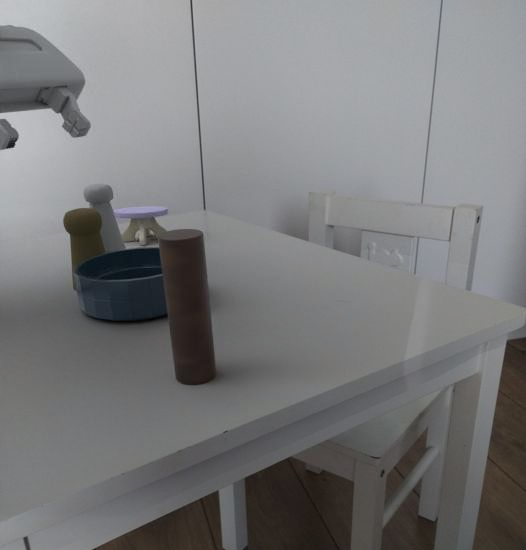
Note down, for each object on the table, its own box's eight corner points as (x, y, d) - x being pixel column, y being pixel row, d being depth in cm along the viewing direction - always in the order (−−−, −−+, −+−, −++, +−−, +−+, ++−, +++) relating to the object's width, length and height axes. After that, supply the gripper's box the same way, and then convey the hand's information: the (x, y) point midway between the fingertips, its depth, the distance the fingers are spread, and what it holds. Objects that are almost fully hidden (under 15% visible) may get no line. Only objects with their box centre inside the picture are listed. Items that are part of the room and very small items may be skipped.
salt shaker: (84, 273, 89) (68, 188, 84) (104, 262, 94) (90, 181, 89) (117, 274, 88) (103, 188, 82) (135, 264, 93) (123, 181, 87)
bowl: (63, 325, 69) (54, 282, 67) (102, 285, 83) (96, 248, 81) (186, 323, 68) (181, 279, 66) (205, 282, 82) (202, 245, 80)
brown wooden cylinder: (171, 385, 54) (152, 240, 48) (179, 366, 58) (163, 229, 52) (213, 384, 54) (199, 239, 48) (218, 365, 58) (206, 227, 52)
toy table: (111, 246, 104) (106, 214, 101) (128, 234, 112) (123, 204, 109) (163, 245, 102) (159, 213, 100) (176, 233, 110) (173, 203, 108)
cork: (66, 285, 84) (51, 210, 79) (104, 275, 88) (91, 203, 83) (83, 294, 80) (68, 215, 75) (122, 284, 83) (110, 208, 79)
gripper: (12, 54, 61) (104, 149, 61) (-186, 51, 44) (-56, 182, 44) (35, 1, 57) (133, 102, 58) (-172, -26, 40) (-30, 118, 41)
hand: (49, 137), depth 51 cm, fingers open, 8 cm apart
